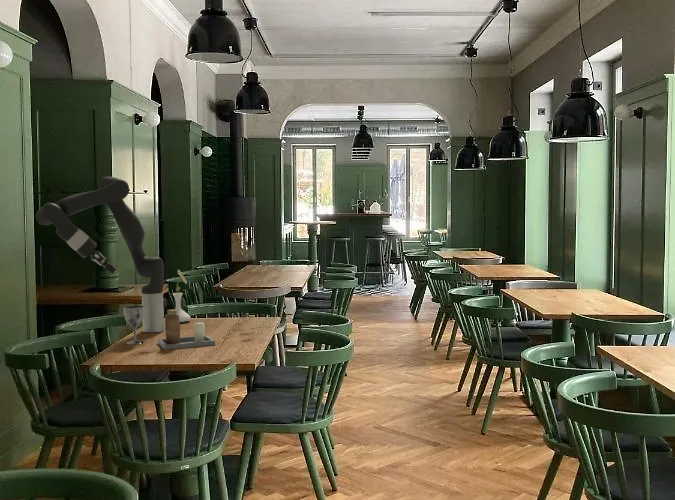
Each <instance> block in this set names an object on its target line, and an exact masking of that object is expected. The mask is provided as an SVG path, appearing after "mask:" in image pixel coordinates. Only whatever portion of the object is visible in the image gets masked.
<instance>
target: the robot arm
mask: <svg viewBox="0 0 675 500" xmlns="http://www.w3.org/2000/svg"><path fill="white" fill-rule="evenodd" d="M129 192H130V186H129V183H128V182H127V181H126V180H125V179H123V178H119V177H114V176H103V177H102V178H101V179H100V181H99V183H98V189H95V190H91V191H83V192H79V193H74V194H72V195H69V196H67V197H64V198H62V199H60V200H59V201H57V202H55V203H53V202H47V203H45V204H44V205H43V206H42V207H40V208H39V209H38V210H37V211H36V214H35V219H36V221H37V222H38V223H39V224H40V225H43V226H49V225H52V224H53V225H54V227H55V228H56V231H55V233H56V234H57V236H59V238H61V239H62V240H63V241H64V242H66V244H67V245H68V246H69V247H70V248H71V249H72V250H74V251H75V253H77V254H78V255H79V256H80V257H81V258H83V259H85V258H87V257H88V256H89V257H90V259H91V260H92V262H95V263H96V264H98V265H99V266H101V267H103V268H104V269H105V270H107V272H109V273H111V274H114V273H115V272H116V271H117V269H116V268H115V267H114V266H113V265H112V264H111V263H110V262H109V260H107V258H106V257H105V256H104V255H103V254H102V253H101V252H100V251H99V250H97V251H96V250H95V248H97V242H95V240H94V239H92V238H91V237H90V236H89V235H88V234H86V233H85V232H84V231H83V230H81V229H80V228H79V227H78V226H76V225H75V224H74V222H72V221H71V220H70V219H69V217H70V216H72V215H76V214H78V213H80V212H82V211H85V210H89V209H91V208H94V207H97V206H100V205H103V204H106V205H107V207H108V209H109V211H110V213H111V214H112V216H113V218H114V221H115V223H116V225H117V227H118V230H119V232H120V233H121V236H122V238H123V241H125V243H126V247H127V248H128V250H129V253H130V255H131V258H132V262H133V264H134V266H135V269H136V272H137V274H138V275H139V276H140V277H141V278H149V280H150V281H149V283H148V284H146V285H143V286H142V287H141V288H140V289H141V291H140V292H141V305H143V306H144V316H143V320H142V332H143V333H161V332H163V331H165V313H164V291H163V290H164V286H165V285H164V284H165V263H164V261H163V259H162V258H161V257H158V256H147V255H146V254H145V251H144V249H143V243H144V240H145V234H146V233H145V229H144V227H143V225H142V222H141V220H140V219H139V217H138V216H137V215H136V213H135V212H134V211H133V210H132V209H131V208H130V207H129V206H128V205H127V204H126V202H125V200H124V199H126V198H127V197H128V195H129Z"/></svg>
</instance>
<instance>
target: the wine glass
mask: <svg viewBox="0 0 675 500" xmlns="http://www.w3.org/2000/svg"><path fill="white" fill-rule="evenodd" d="M123 313H124V319H125V321H126V322H127V323H128V325H130V327H131V328H132V330H133V340H130V341H127V342H126V343H125V344H126V345H141V344H143V343H145V342H144V341H142V340H138V339H137V328H138V327H139V325H140V324H141V323H142V322H143V316H144V306H143V305H142V304H139V305H138V304H137V305H134V304H133V305H125V306H123Z"/></svg>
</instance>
